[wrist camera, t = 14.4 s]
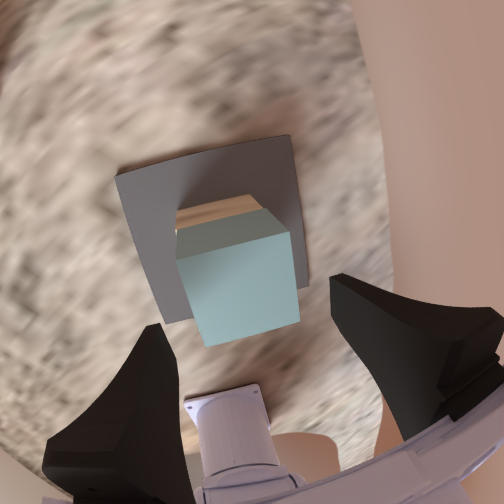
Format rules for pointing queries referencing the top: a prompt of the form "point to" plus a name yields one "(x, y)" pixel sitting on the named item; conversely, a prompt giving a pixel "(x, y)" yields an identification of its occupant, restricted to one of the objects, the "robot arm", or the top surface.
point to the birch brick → (215, 211)
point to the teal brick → (238, 275)
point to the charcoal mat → (202, 192)
